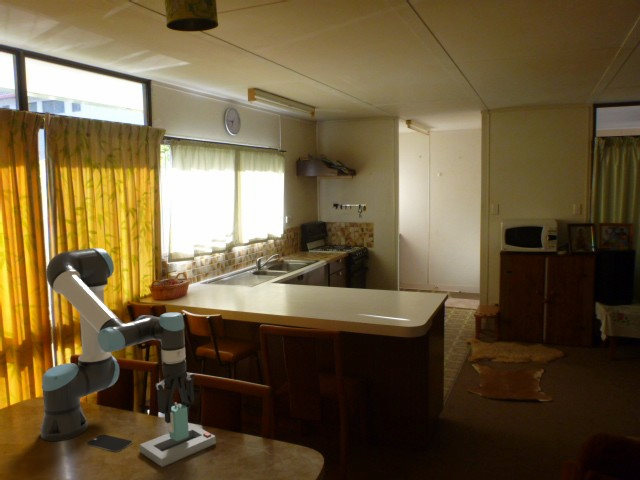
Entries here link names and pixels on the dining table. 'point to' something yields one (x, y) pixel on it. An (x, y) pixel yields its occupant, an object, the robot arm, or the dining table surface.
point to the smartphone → (109, 443)
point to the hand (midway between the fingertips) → (178, 428)
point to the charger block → (179, 422)
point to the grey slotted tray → (177, 446)
